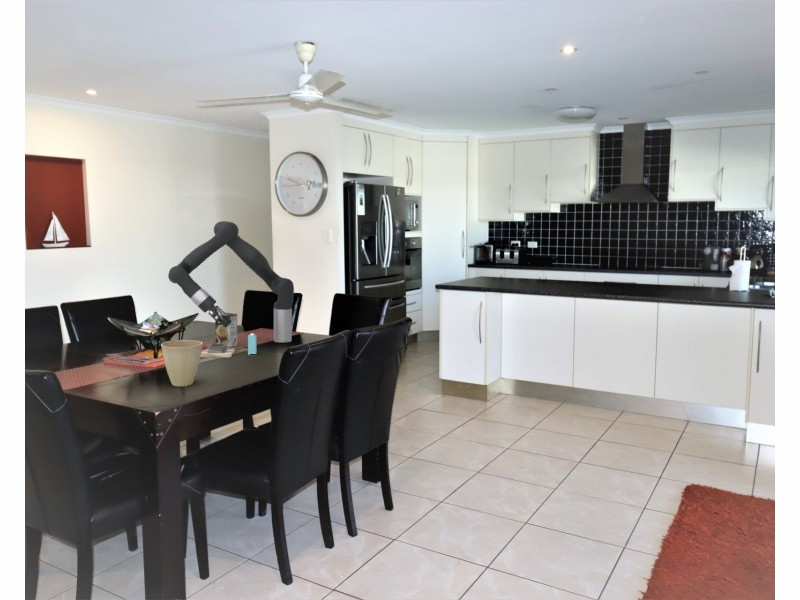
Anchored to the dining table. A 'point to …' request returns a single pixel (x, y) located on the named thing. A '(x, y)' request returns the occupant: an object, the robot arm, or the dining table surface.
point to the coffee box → (227, 331)
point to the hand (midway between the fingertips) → (229, 324)
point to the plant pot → (181, 360)
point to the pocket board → (218, 350)
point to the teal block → (252, 344)
